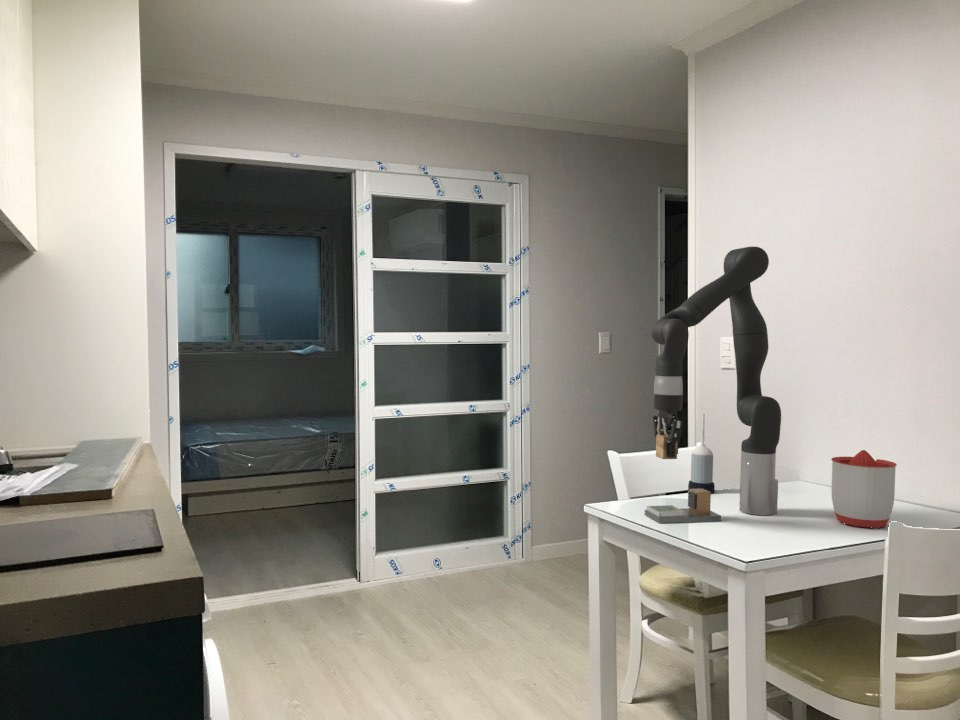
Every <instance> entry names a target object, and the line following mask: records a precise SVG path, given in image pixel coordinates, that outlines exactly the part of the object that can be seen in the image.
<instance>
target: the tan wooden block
mask: <svg viewBox="0 0 960 720" xmlns="http://www.w3.org/2000/svg"><path fill="white" fill-rule="evenodd" d="M655 439H656V440H655V441H656V442H655V457H657V458H659V459H661V460H677V459H678V454H679V442H677V443H675V457H667V455H666V454H667V437H666V435H656V438H655Z"/></svg>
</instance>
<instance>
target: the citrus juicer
mask: <svg viewBox="0 0 960 720" xmlns="http://www.w3.org/2000/svg"><path fill="white" fill-rule="evenodd" d="M830 460H831V462H832V463H831V465H832V466H831V468H832V469H831V500H832V501H831V502H832V506H833V511H834V512H833V513H834V514H835V517H836V519H837V521H838V522H840V523H842V524H843V523H845V524H849V525H848V526H854V527H861V528H869V527H872V528H871V529H873V528H877V529H878V528H884V527H886V526H887V525H888V522H889V520H890V519H891V518H890V517H891V514H892V512H893V508H894V503H895V496H896V495H895V493H896V491H895V490H896V489H895V488H896V486H895V485H896V467H897V463H896V462H893V461H890V460H885V459H878V458H877V459H876V460H875V458H874V457H872V455H871V453H869V452H868V451H867V450H865V449H863V450H862V449H861V451H859V452H858V453H856V454H855V455H854V456H834V457H832V458H831V459H830ZM845 524H844V525H845Z"/></svg>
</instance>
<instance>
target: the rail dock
mask: <svg viewBox="0 0 960 720" xmlns="http://www.w3.org/2000/svg"><path fill="white" fill-rule="evenodd" d="M711 496H712V494H711V492H710V491H707V490H705V489H689V491H688V494H687V506H688V508H685V507H684V508H679V507H677V506H674V505H671V504H670V505H669V504H668V505H666V504H665V505H646V509H644V516H645V515H646V516H645V517H646V518H649V519H651V520H652V521H654V522H655V523H658V524H677V523H678V524H679V523H702V522H703V523H705V522H706V523H707V522H722V515H720V514H719V513H716V512H714V511H712V510H711V500H712V499H711Z"/></svg>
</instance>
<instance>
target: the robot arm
mask: <svg viewBox="0 0 960 720" xmlns="http://www.w3.org/2000/svg"><path fill="white" fill-rule="evenodd" d="M723 260H724V261H723V274H722V275H721V276H719V277H718V278H717V279H715V280H713V281H711V282H709V283H708V284H706V285H704V286H703V287H700V288H699V289H698V290H697V291H695V292H694V293H693V294H691V295H690V296H689V297H688V298H687V299H686V300H685V301H684V302H682V303H681V304H680V306H678V307H676V308H674V309H672V310H671V311H668V312H667V313H666V314H665V315H663V316H661V317H660V318H659V319H658V320H656V322H655V323H654V325H652V329H651V338H652V339H653V341H654V342H655V343H657V344H658V345H662V346H663V351H662V353H660V354H659V355H657V356H656V359H655V375H654V384H653V409H654V410H655V411H658V413H657V415H653V416H652V422H653V424H652V425H653V434H654V437H656V435H666V437H667V454H666V455H667V457H675V443H677V442H678V443H680V442H681V438H682V432H683V424H684V421H683V420H679V418H678V412H680V411H682V409H683V394H684V392H683V388H684V386H683V385H684V384H683V359H684V357H685V355H686V349H687V347H688V343H689V336H690V335H689V334H690V333H689V329H688V328H691V327H695V326H697V325H699V324H700V323H701V322H703V320H705V319H706V318H707V317H708V316H709V315H710V314H711V313H712V312H714V311H715V310H716V309H717V308H718V307H719V306H720V305H721V304H723V303H724V302H725V301H727V300H728V299H729V307H730V317H731V324H732V325H731V327H732V338H733V349H734V357H735V358H734V359H735V370H736V413H737V417H738V419H739V420H740V422H741V423H742V424H743V425H745V426H748V427H750V434H749V436H748V437H747V438H746V439H743V440H742V442H741V445H740V447H741V449H740V452H741V453H740V478H739V479H740V481H739V482H740V483H739V511H740V512H741V513H745V514H749V515H757V516H771V515H774V514H778V497H779V496H778V495H779V480H778V479H776V462H777V461H776V458H777V456H776V455H777V447H778V445H779V442H780V435H781V427H782V426H781V425H782V408H781V406H780V403H779V402H778V400H777V399H775V398H774V397H771V396H767V395H766V396H765V395H763V394H762V385H761V375H762V371H763V369H764V365H765V363H766V362H765V361H766V360H767V356H768V353H769V337H768V333H769V332H768V328H767V322H766V321H765V319H764V316H763V315H762V312H761V311H760V310H759V308H758V306H757V304H756V303H755V301H754V297H753V294H752V287H751V283H753V282H754V281H756V280H758V279H759V278H761V277H762V276H764V274H765V273H766V272H767V270H768V268H769V265H770V258H769V256H768V254H767V252H766V250H764V248H762V247H760V246H745V247H740V248H736V249H731V250H730V251H729V252H728V253H726V254H725V256H724V259H723Z"/></svg>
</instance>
